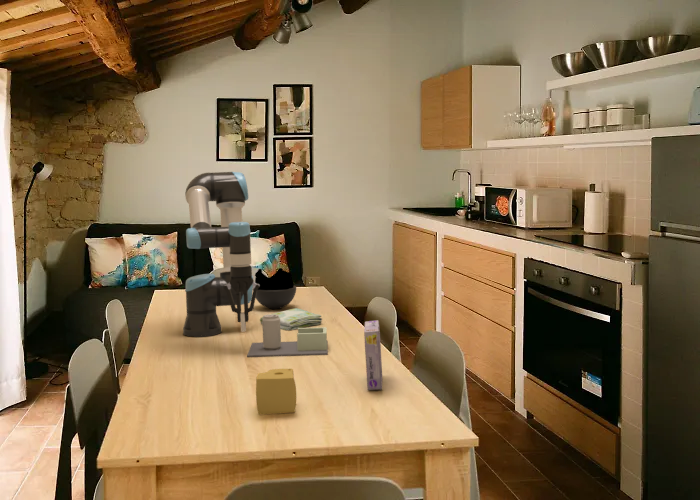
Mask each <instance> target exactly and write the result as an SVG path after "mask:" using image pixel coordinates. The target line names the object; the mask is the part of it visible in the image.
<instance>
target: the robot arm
mask: <svg viewBox="0 0 700 500" xmlns="http://www.w3.org/2000/svg"><path fill="white" fill-rule="evenodd" d="M184 197H185V201H186V203H187V204H188V209H189V221H190V227H188V228H187V229H186V230H185V236H186V247H187V248H188V249H190V250H191V249H195V250H200V249H215V248H216V249H218V248H222V263H223V264H222V265H223V267H222V269H221V271H220V272H219V275H220V276H216V275H215V274H214V273H203V274H198V275H194V276H190V277H188V278H187V279H186V280H185V290H184V291H185V298H186V299H185V301H186V316H185V320H184V324H183V329H182V334H183V335H184V336H185V335H187V336H186V337H191V336H194V338H197V337H198V338H200V337H212V336H215V335H220V334H221V333H222V325H221V322H220V320H219V317H218V314H217V307H224V306H225V307H228V306H230V309H231V311H232V312H233V313H236V316H237V323H240V332H242V333H245V332H246V331H247V325H246V323H248V322H249V313H251V312H252V311H253V310H254V307H255V303H256V293H257V290H258V288H259V286H260V285H259V284H257V283H255V280H254V275H253V272H252V270H253V269H252V250H251V244H252V243H251V229H250V227H251V226H250V223H249V222H248V221H243V211H242V209H243V207H244V206H245V204H246V201H248V200H249V190H248V183H247V181H246V177H245V174H243V172H242V171H241V172H240V171H222V172H219V171H217V172H203V173H200V174H198V175H196V176H195V177H194V178H193V179H192V180H191V181H190V182H189V183H188V185H187V186H186V190H185V196H184ZM209 202H215V205H216V208H218V209H219V210H220V211H219V212H220V226H218V227H217V226H215V227H212V222H211V213H210V205H209ZM253 289H254V290H253ZM249 304H250V305H249ZM242 305H243V308H244V309H243V311H244V312H242Z"/></svg>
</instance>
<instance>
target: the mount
mask: <svg viewBox="0 0 700 500" xmlns="http://www.w3.org/2000/svg"><path fill="white" fill-rule="evenodd" d="M327 329H328V328H327V326H324V327H323V326H322V327H303V328H298V329H297V334H296V337H297V338H296V339H297V341H295V340H294V341H293V340H292V341H281V347H279V349H274V350H268V349H265V348H264V347H263V341H262V342H252V343H251V344H250V347H249V350H248V352H247V355H246V357H247V358H263V357H264V358H266V357H267V358H270V357H295V356H296V357H299V356H301V357H302V356H303V357H304V356H327V355H328V352H329V351H328V349H329V348H328V345H329V343H328V337H327V336H328V335H327V334H328V333H327Z"/></svg>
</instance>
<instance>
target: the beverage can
mask: <svg viewBox="0 0 700 500" xmlns="http://www.w3.org/2000/svg"><path fill="white" fill-rule="evenodd" d="M262 317H263V319H262V324H261V325H262V342H263V347H264V348H265V349H268V350H274V349H279V347H281V342H282V337H281V330H282V329H280V318H279V315H277V314H274V313H271V314H269V313H268V314H264V315H262Z"/></svg>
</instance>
